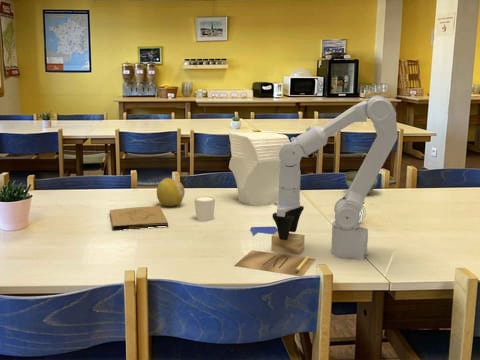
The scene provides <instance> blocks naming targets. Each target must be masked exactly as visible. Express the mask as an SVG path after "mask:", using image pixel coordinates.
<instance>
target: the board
mask: <svg viewBox="0 0 480 360" xmlns="http://www.w3.org/2000/svg"><path fill="white" fill-rule="evenodd" d="M305 258H306V256H305V257H304V256H303V257H302V256H299V255H298V256H297V255H296V256H295V255H290V254H282V253H277V252H276V253H275V252H268V251H261V250H254V249H252V250H250V251H249V252H248V253H247V254H246V255H244V256H243V257H242V258H241V259H240V260H239V261H238V262H237V263H235V264H234V265H233V266H234V267H238V268H243V269H244V268H245V269H250V270H257V271H262V272H263V271H264V272H270V273H277V274H283V275H290V276H297V277H302V276H303V277H304V276H305V274H306V273H307V271H308V270H309V269H310V268H311V267H312V266H313V264H314V263H315V261H316V260H317V258H312V257H310V259H309V260H308V261H307V263H306V264H305V265H304V266H303V268H302V269H301V270H300V271H299V272H298V273H295V270H296V269H297V267H298V266H299V265H300V264H301V263H302V261H303V260H304V259H305Z"/></svg>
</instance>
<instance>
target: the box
mask: <svg viewBox="0 0 480 360" xmlns="http://www.w3.org/2000/svg"><path fill="white" fill-rule="evenodd" d="M109 214H110V221H111V222H110V223H111V229H112V231H113V232H117V231H120V230H121V231H125V230H124V229H134V230H141V229H140V228H148V227H155V228H157V227H156V226H167V227H166V228H169V223H168V220H167V217H166V216H165V214H164V212H163V210H162V208H161V206H160V205H154V206H153V205H151V206H150V205H149V206H139V207H137V206H136V207H124V208H116V209H109Z"/></svg>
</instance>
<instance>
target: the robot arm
mask: <svg viewBox="0 0 480 360" xmlns="http://www.w3.org/2000/svg"><path fill="white" fill-rule="evenodd" d="M368 119H369V120H370V121H371V122H372V124H373V127H374V130H375V133H376V137H375V139H374V141H373V143H372V144H371V147H370V148H369V150H368V153H367V154H366V156H365V158H364V159H363V162H362V163H361V165H360V167H359V169H358V173H357V175H356V177H355V178H354V180H353V182H352V184H351V186H350V188H348V189H347V190H346V191H345V193H344V195H343V196H342V198H339V200H337V201H336V202H335V205H334V207H333V208H334V221H332V227H331V228H332V229H331V246H330V247H331V249H330V252H331V255H333V256H334V257H337V258H342V259H356V260H364V259H365V257H366V256H367V255H368V238H369V230H368V228H366V227H362V226H361V225H360V216H361V215H360V214H361V210H362V208H363V205H364V203H365V200H366V197H367V196H368V195H367V193H368V192H369V190H370V188H371V186H372V184H373V182H374V181H375V179H376V177H377V175H379V173H380V171H381V169H382V167H383V166H384V164H385V162H386V160H387V159H388V156H389V155H390V153H391V151H392V149H393V147H394V145H395V143H396V142H397V140H398V137H399V136H398V133H399V132H398V125H397V124H398V123H397V112H396V110H395V108H394V106H393V103H392V102H391V101H390V100H389V99H387V98H385V97H384V96H382V95H373V96H371V97H369V98H368V99H366V100H363V101H361V102H359V103H356V104H354V105H352V106H351V107H349V108H348V109H347V110H345V111H344V112H343V113H340V114H339V115H338V116H335V118H333V119H332V120H330V121H329V122H327V123H326V124H325V125H322V126H318V125H313V126H312V127H311V126H308V127H305V131H304V132H302V133H300V134H299V135H298V136H296V137H294V136H293V137H291V138H290V142H287V143H285V144H284V145H283V146H282V148H281V149H280V152H279V158H280V161H281V162H280V170H279V196H278V201H275V202H274V203H273V205H274V206H277V208H276V212H274V213H272V219H273V221H274V223H275V225H276V226H275V227H276V228H277V230H278V234H279V239H280V240H288V237H289V233H296V232H297V228H298V224H299V221H300V218H301V215H302V213H303V211H304V208H305V206H303V205H301V202H300V201H301V200H300V199H301V198H300V197H301V194H300V193H301V169H300V168H301V160H302V157H304V158H305V157H308V156H309V155H312V154H313V153H314V152H316V151H317V150H319V149H321V148H322V147H325V146H326V145H327V144H328V138H329V137H331V136H333V135H334V134H336V133H338V132H340V131H342V130H343V129H345V128H347V127H348V126H350V125H352V124H354V123H366V122H368ZM369 193H370V192H369Z"/></svg>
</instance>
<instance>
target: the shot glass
mask: <svg viewBox="0 0 480 360" xmlns="http://www.w3.org/2000/svg"><path fill="white" fill-rule="evenodd" d="M215 203H216V199H215V197H211V196H198V197H195V198H194V205H195V206H194V208H195V217H196V218H197V219H196V218H195V219H196V220H197V221H199V220H200V221H199V222H209V221H210V222H211V221H213V220H214V216H215V215H214V214H215Z"/></svg>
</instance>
